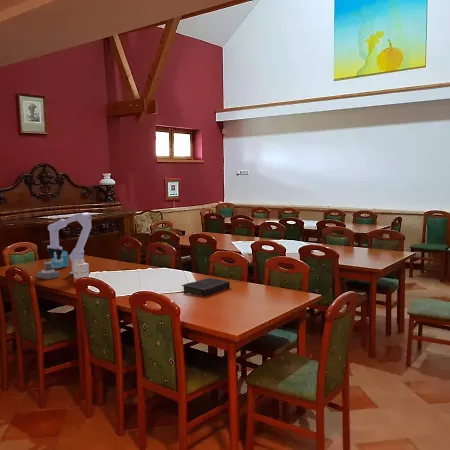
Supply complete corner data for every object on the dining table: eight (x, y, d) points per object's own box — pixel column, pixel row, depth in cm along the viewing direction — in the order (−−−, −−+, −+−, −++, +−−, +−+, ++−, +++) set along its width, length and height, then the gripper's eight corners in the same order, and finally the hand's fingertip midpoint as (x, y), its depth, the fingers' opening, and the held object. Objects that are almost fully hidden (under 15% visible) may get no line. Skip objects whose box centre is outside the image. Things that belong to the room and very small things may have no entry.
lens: (53, 271, 325) (52, 261, 324) (48, 272, 321) (47, 262, 320) (48, 271, 327) (48, 261, 326) (43, 272, 323) (42, 262, 322)
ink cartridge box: (78, 283, 305) (77, 260, 303) (73, 282, 308) (72, 259, 306) (89, 280, 311) (88, 258, 310) (85, 279, 314) (84, 258, 313)
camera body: (59, 276, 324) (59, 269, 324) (48, 279, 317) (47, 272, 316) (48, 275, 331) (48, 268, 331) (37, 277, 324) (36, 270, 323)
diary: (230, 289, 286) (230, 280, 286) (205, 298, 266) (205, 289, 265) (205, 284, 297) (205, 277, 296) (180, 293, 276) (180, 285, 276)
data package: (54, 268, 353) (53, 253, 352) (51, 268, 356) (50, 252, 355) (68, 266, 362) (67, 251, 361) (65, 265, 365) (64, 250, 364)
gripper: (43, 240, 338) (44, 258, 339) (56, 241, 330) (57, 260, 331) (51, 239, 344) (52, 257, 345) (64, 240, 336) (65, 259, 337)
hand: (55, 258), depth 339 cm, fingers open, 7 cm apart
